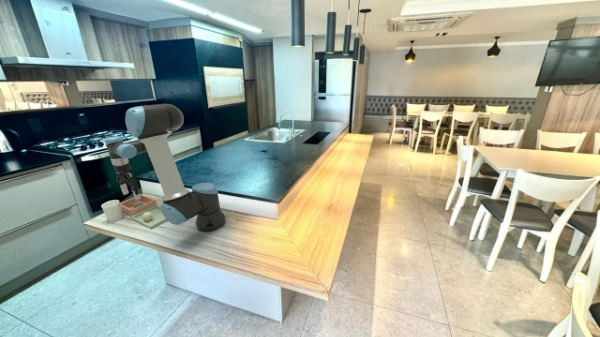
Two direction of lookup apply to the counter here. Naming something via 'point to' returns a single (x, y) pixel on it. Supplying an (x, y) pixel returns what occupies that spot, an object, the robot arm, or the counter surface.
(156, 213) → the parts tray
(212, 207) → the robot arm
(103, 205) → the white cup
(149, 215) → the sand pebble
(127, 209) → the terracotta dish
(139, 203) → the slate pebble
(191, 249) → the counter surface
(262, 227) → the counter surface
